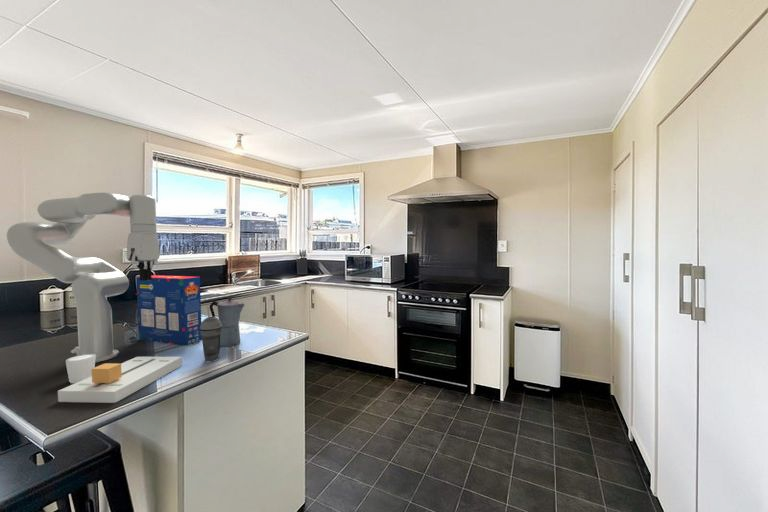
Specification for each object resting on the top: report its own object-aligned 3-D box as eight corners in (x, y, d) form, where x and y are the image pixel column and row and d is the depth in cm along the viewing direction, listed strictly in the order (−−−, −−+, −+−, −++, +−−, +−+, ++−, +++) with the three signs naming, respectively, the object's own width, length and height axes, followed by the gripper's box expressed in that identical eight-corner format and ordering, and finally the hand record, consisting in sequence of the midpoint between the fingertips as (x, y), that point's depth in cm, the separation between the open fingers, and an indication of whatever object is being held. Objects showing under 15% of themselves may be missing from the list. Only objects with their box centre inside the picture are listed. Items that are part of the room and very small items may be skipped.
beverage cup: (213, 363, 112) (211, 307, 111) (195, 362, 113) (193, 306, 113) (227, 356, 119) (226, 303, 118) (210, 355, 120) (209, 302, 120)
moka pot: (240, 347, 129) (239, 298, 129) (203, 347, 130) (201, 298, 129) (250, 340, 139) (249, 294, 138) (215, 340, 139) (214, 294, 138)
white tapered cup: (79, 375, 103) (78, 353, 103) (102, 374, 103) (101, 353, 103) (59, 384, 96) (58, 361, 96) (84, 383, 97) (83, 360, 96)
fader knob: (92, 382, 89) (91, 368, 89) (105, 376, 93) (104, 363, 93) (109, 383, 89) (108, 369, 89) (121, 377, 93) (121, 363, 93)
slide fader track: (58, 401, 85) (57, 390, 85) (137, 364, 111) (137, 356, 111) (115, 402, 85) (114, 391, 84) (182, 365, 111) (181, 356, 110)
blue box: (201, 340, 140) (199, 276, 139) (185, 345, 132) (182, 278, 131) (156, 334, 149) (154, 275, 148) (138, 339, 142) (136, 277, 141)
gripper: (149, 230, 123) (151, 278, 124) (115, 228, 108) (117, 282, 109) (168, 230, 123) (170, 277, 124) (136, 228, 108) (138, 282, 109)
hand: (145, 280), depth 116 cm, fingers closed
